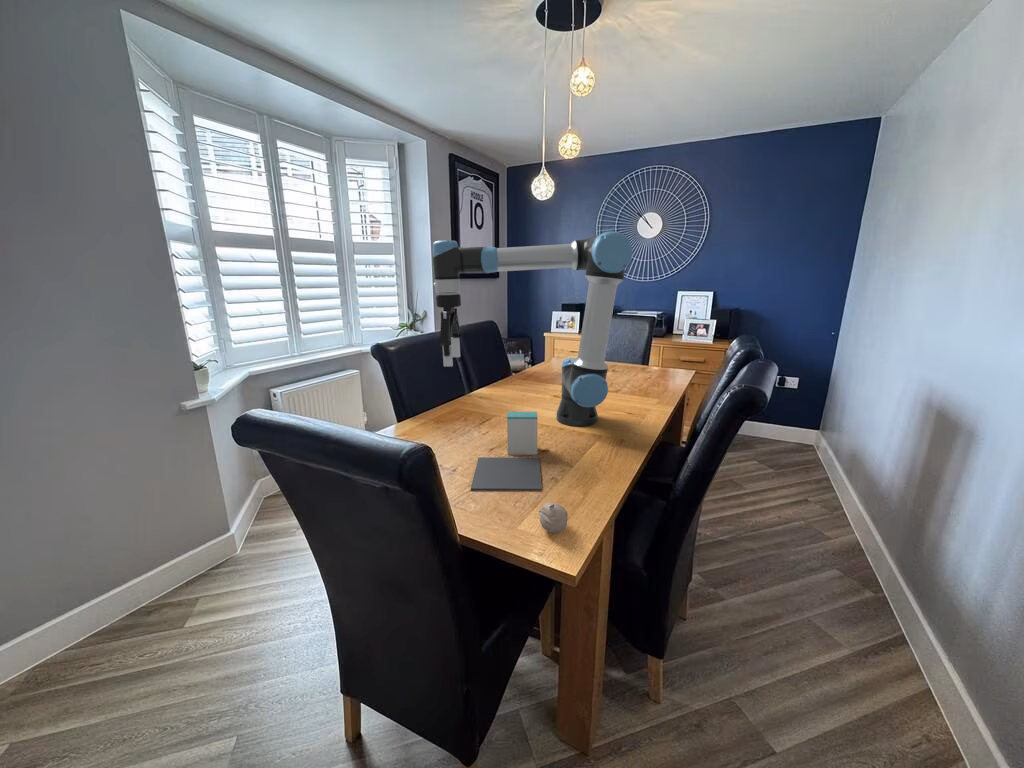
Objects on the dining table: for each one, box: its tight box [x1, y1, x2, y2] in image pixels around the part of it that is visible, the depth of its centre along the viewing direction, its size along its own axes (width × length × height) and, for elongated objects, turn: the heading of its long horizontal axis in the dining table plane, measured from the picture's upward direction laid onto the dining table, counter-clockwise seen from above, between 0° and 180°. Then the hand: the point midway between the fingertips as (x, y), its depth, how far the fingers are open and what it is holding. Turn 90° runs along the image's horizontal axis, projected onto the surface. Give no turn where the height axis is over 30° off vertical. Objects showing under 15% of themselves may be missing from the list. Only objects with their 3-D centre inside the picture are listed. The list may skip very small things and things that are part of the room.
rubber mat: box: [470, 456, 543, 492], centre depth 113 cm, size 18×18×1 cm
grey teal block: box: [506, 411, 538, 455], centre depth 126 cm, size 9×5×12 cm, turn 88°
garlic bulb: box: [538, 501, 569, 535], centre depth 88 cm, size 7×6×8 cm
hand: (452, 361), depth 132 cm, fingers open, 13 cm apart
